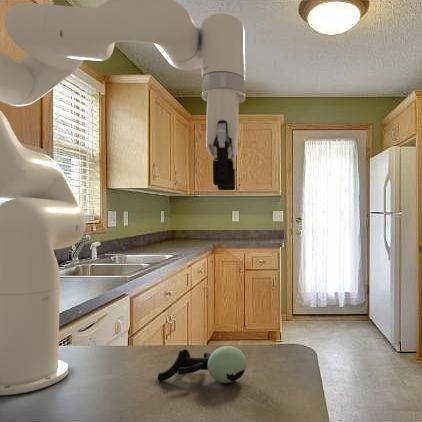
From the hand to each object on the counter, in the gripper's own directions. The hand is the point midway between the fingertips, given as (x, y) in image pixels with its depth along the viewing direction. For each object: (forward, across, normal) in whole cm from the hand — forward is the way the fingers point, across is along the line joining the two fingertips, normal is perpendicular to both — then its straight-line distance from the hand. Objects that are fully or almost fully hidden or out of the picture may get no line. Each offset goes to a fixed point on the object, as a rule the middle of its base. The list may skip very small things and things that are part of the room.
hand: (225, 187), depth 67 cm
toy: (+34, -2, -4) cm, 34 cm away
